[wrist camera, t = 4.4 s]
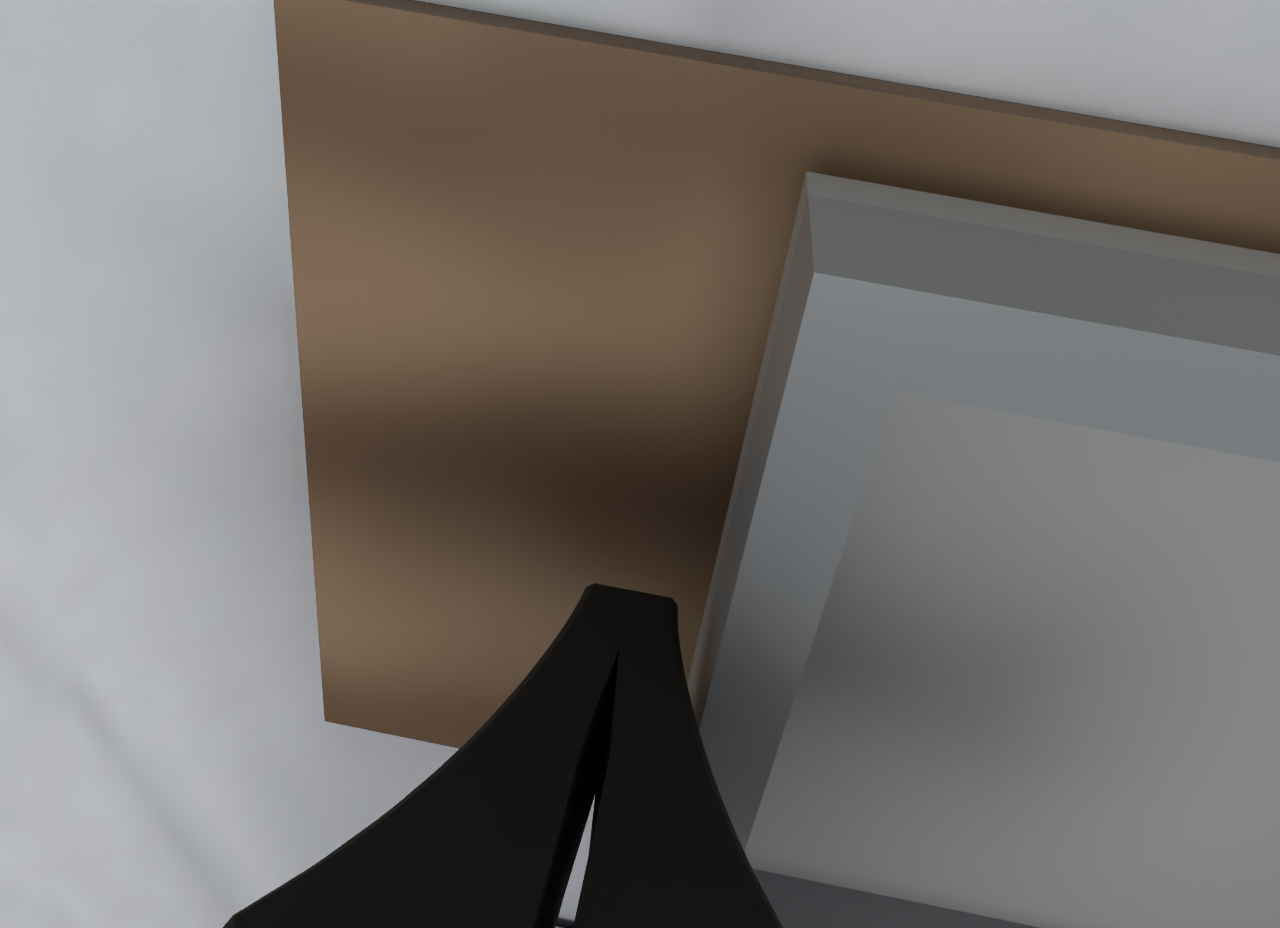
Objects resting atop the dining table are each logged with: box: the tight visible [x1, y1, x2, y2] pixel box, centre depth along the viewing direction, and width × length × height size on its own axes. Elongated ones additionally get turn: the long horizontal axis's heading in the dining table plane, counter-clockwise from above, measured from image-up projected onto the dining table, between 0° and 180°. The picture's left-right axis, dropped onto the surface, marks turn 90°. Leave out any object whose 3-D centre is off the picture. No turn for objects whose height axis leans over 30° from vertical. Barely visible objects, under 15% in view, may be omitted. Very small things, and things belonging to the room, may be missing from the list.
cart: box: [687, 171, 1280, 928], centre depth 14 cm, size 13×12×5 cm
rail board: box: [274, 0, 1280, 748], centre depth 15 cm, size 14×31×3 cm, turn 82°
